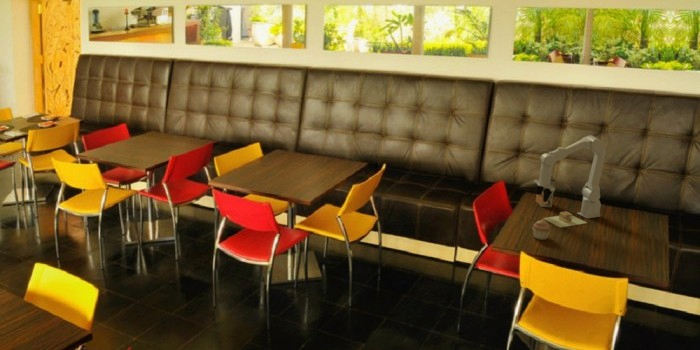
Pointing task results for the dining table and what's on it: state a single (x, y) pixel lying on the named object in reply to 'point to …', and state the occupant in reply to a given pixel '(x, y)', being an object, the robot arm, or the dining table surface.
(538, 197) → the terracotta block
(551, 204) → the coffee box
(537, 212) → the dining table surface
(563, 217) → the birch block
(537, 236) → the cupcake
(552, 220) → the pale green rectangular panel
